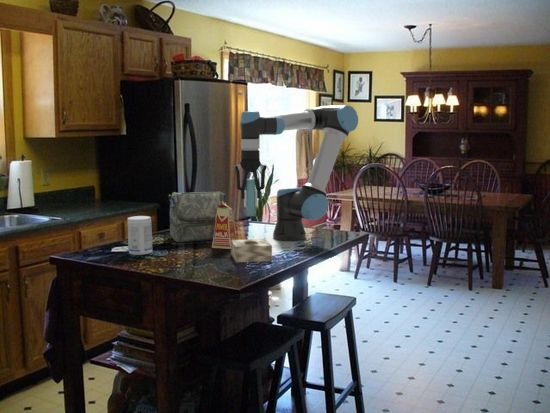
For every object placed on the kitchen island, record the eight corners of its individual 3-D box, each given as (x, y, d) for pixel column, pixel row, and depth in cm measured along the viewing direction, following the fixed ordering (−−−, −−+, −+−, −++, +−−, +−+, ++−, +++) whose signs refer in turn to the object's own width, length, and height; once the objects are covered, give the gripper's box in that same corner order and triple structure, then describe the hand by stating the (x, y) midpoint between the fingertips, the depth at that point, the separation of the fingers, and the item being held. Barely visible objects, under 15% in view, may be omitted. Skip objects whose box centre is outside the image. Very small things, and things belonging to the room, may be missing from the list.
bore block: (265, 253, 253) (265, 238, 252) (271, 260, 240) (271, 245, 239) (231, 254, 250) (231, 240, 250) (235, 262, 237) (235, 246, 236)
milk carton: (232, 248, 262) (231, 202, 259) (211, 248, 264) (210, 201, 261) (237, 244, 271) (237, 199, 268) (217, 243, 273) (216, 198, 270)
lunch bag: (172, 243, 273) (171, 194, 270) (166, 236, 290) (164, 190, 287) (229, 240, 281) (229, 192, 278) (220, 233, 298) (219, 188, 295)
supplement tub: (149, 249, 260) (148, 215, 258) (155, 254, 252) (154, 218, 250) (126, 251, 256) (124, 216, 254) (131, 256, 248) (130, 220, 246)
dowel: (254, 214, 258) (254, 178, 256) (255, 216, 254) (255, 179, 252) (245, 215, 257) (245, 179, 255) (246, 216, 253) (246, 179, 251)
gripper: (269, 149, 257) (268, 205, 260) (228, 149, 254) (229, 205, 257) (272, 149, 250) (272, 207, 253) (230, 150, 247) (231, 208, 250)
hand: (250, 206), depth 255 cm, fingers closed on dowel, 4 cm apart
